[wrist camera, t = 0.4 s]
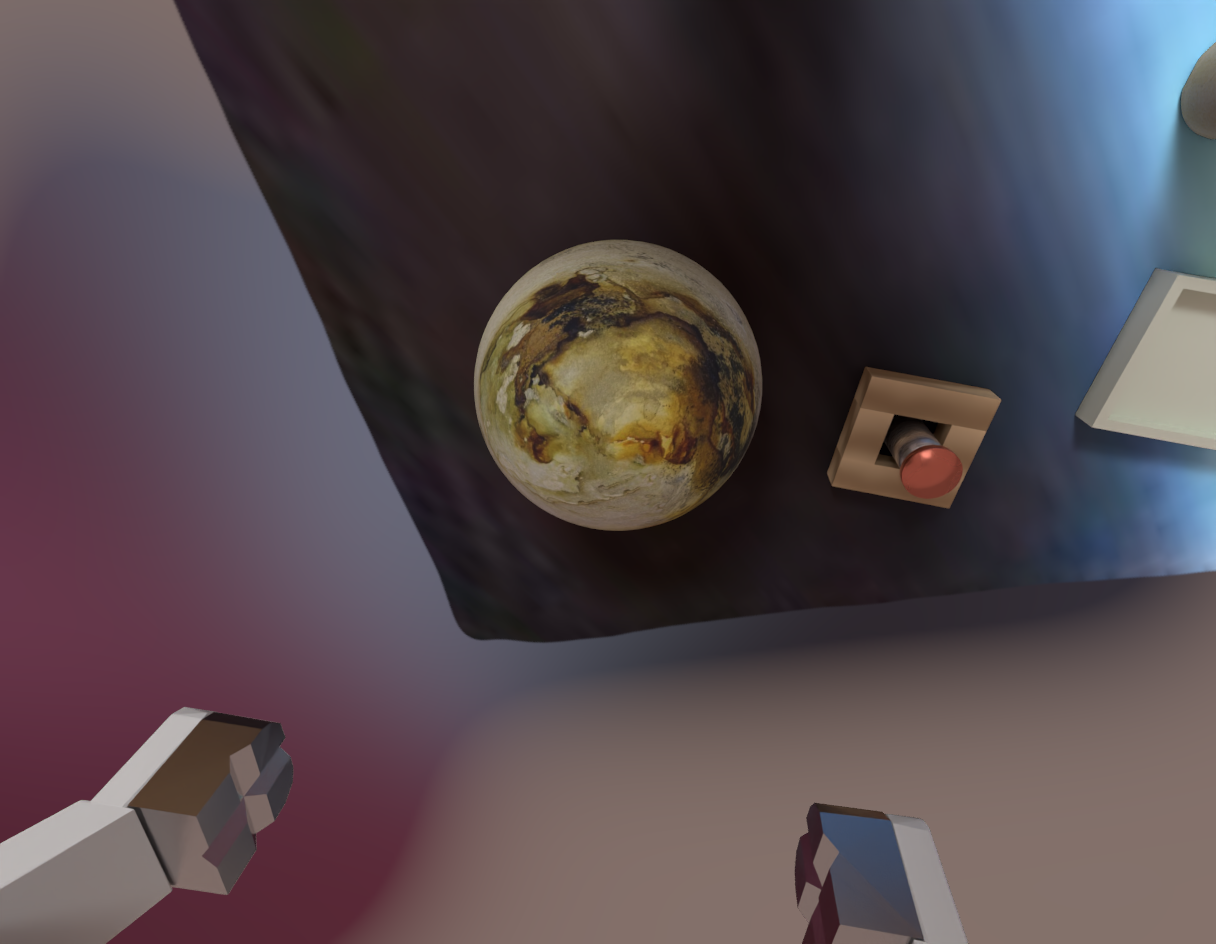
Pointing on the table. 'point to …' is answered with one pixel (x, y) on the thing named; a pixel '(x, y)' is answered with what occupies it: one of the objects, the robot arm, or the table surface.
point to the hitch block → (911, 396)
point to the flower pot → (1201, 96)
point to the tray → (1162, 366)
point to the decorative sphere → (618, 385)
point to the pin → (922, 459)
